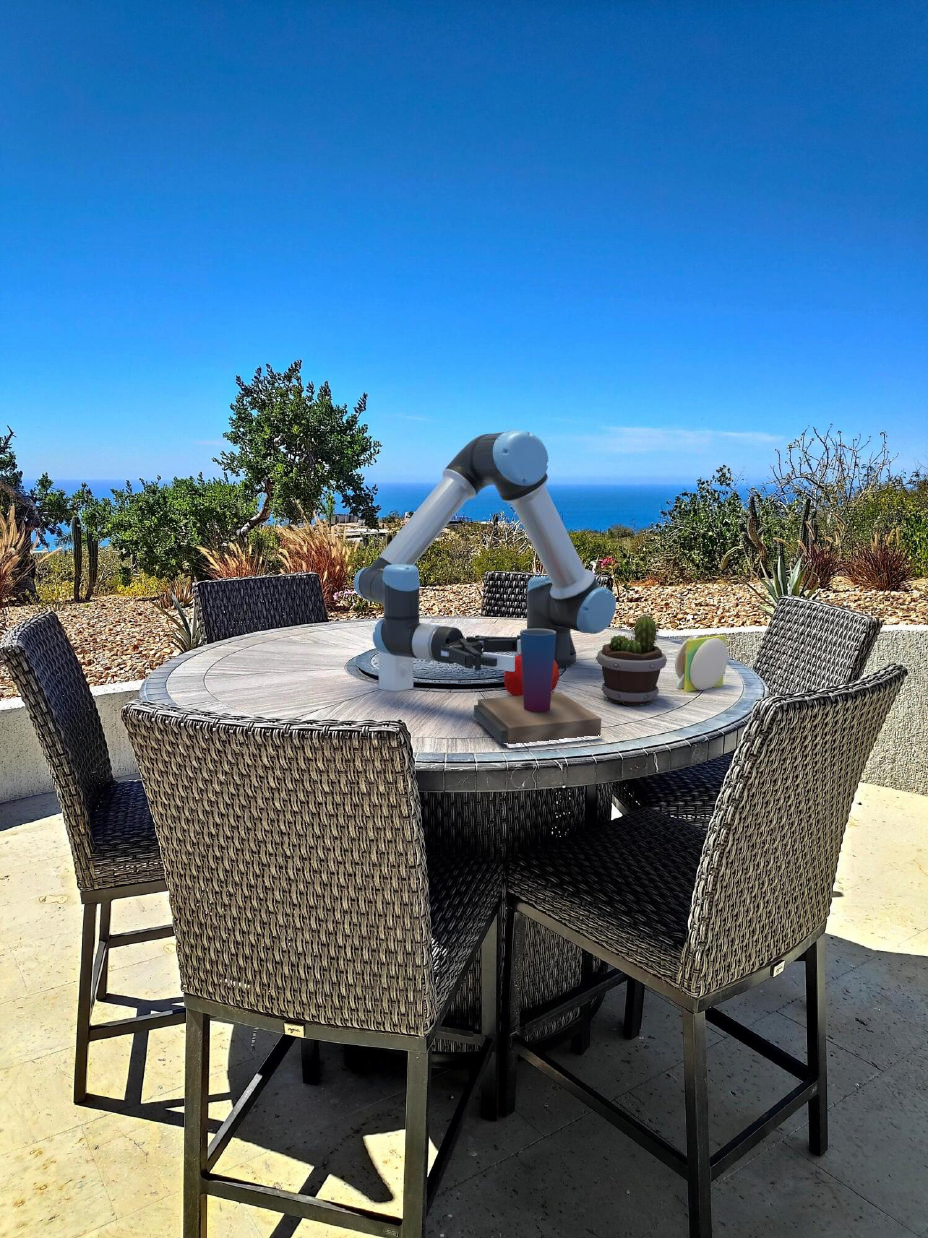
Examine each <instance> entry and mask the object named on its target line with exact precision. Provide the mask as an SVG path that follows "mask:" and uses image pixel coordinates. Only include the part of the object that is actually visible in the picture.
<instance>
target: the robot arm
mask: <svg viewBox="0 0 928 1238" xmlns="http://www.w3.org/2000/svg"><path fill="white" fill-rule="evenodd" d="M548 462H549V454H548V451H547V448H546V446H545V444H544V443H543V441H542V440H541V439H540V438H539V436H537V435H536V434H534V433H532V432H529V431H526V430H516V429H513V430H506V431H502V432H494V433H484V434H481V435H479V436H476V437H475V438H473V439H472V440H470V441H469V442H468V443H467V444H465V446H464V447H463V448H462V449H461V450H460V451H459V452H458V453H457V454H456V455H455V456H454V458H453V459H452V460H451V461H450V462H449V464H447V466H446V467H445V468H444V469H443V471H442V479H441V480H440V481H439V482H438V484H436V486H435V487H434V489H432V491H431V493H429V494H428V496H427V497H426V498H425V500H423V502H422V503H421V504H420V506H419V507H418V508H417V509H416V511H415V512H414V513H413V514H412V515H411V517H410V518H409V519H408V521H406V523H405V524H404V525H403V526H402V528H401V529H400V530H399V531H398V532H397V534H396V535H395V536H394V538H392V540H391V541H390V542H389V543H388V545H387V546H386V547H385V548H384V549H383V551H382V552H381V553H380V555H379V556H378V557H377V558H376V559H375V560H374V562H373V563H372V564H371V565H370V566H365V567H363V568H361V569H360V570H358V571H357V572H356V574H355V575H354V579H353V587H354V591H355V592H356V594H357V595H358V596H359V597H361V598H363V599H364V600H366V601H368V602H373V603H377V604H379V605H383V619H380V620H379V621H378V622H377V623H376V624H375V626H374V631H373V632H372V642H373V646H374V647H375V648H376V649H377V651H378V650H379V651H380V652H383V653H387V654H391V655H394V656H403V657H410V658H413V659H419V660H425V662H426V663H431V662H437V663H442V664H448V665H453V664H456V665H458V666H462V667H464V668H466V669H469V670H471V669H473V668H474V671H475V672H481V671H482V668H488V669H492V670H500V671H504V672H505V671H512V672H513V671H515V656H516V655H515V656H513V655H508V654H501V653H509V652H510V653H512V652H516V653H517V654H518V655H520V654H521V642H520V634H519V635H518V634H517V635H516V636H489V635H487V636H486V635H479V634H477V635H473V636H472V635H471V636H470V635H469V636H466V638H465V636H464V635H463V632H462V631H461V630H460V629H459V628H458V627H453V626H446V625H445V626H444V625H443V626H442V625H439V624H431V623H423V622H422V623H421V622H420V586H421V582H420V581H421V580H420V574H419V569H418V567H417V566H416V565H415V564H416V563H417V562H418V561H419V559H420V558H421V557H422V556H423V555H424V553H425V552H426V551H427V550H428V549H429V547H430V546H431V544H432V543H434V541H435V540H436V538H438V536H439V535H440V534H441V532H442V531H443V530H444V529H445V527H446V526H447V525H448V524H449V523H450V521H451V520H452V519H453V518H454V517H455V515H456V514H457V513H458V511H459V510H460V509H461V508H462V507H463V505H464V504H465V503H466V501H467V500H469V499H470V500H471V499H474V498H475V497H476V496H477V495H478V494H479V493H480V491H482V490H483V489H484V488H487V487H489V486H494V488H495V489H496V491H497V492H498V494H499V496H500V498H501V500H502V501H503V502H505V503H509V504H511V506H512V508H513V509H514V512H515V513H516V515H517V517H518V519H519V521H520V523H521V525H522V526H523V529H524V531H525V533H526V535H527V537H528V539H529V541H530V543H531V545H532V547H533V549H534V551H535V553H536V555H537V557H538V558H539V561H540V563H541V565H542V566H543V568H544V570H545V572H546V574H547V576H535V577H531V578H530V579H529V580H528V583H527V590H526V629H550V630H554V631H556V641H555V654H554V660H555V661H556V663H557V665H558V668H563V667H565V668H566V667H569V666H573V665H575V664H577V657H578V656H577V650H576V647H575V644H574V640H573V638H572V634H571V632H572V631H571V630H573V631H575V632H579V633H582V634H592V635H595V634H599V633H601V632H603V631H604V630H606V629H607V628H608V627H609V626H610V624H611V623H612V621H613V619H614V617H615V614H616V610H617V609H616V608H617V602H616V597H615V595H614V593H613V591H612V590H610V589H609V588H607V587H605V586H601V585H600V583H599V582H598V579H597V577H596V576H595V573H594V572H593V571H592V570H590V569H585V566H584V565H583V562H582V560H581V559H580V556H579V554H578V551H577V550H576V548H575V546H574V544H573V541H572V540H571V538H570V537H571V536H570V535H569V534H568V533H569V532H567V529H566V527H565V525H564V523H563V521H562V519H561V517H560V514H559V513H558V510H557V508H556V506H555V504H554V502H553V499H552V497H551V495H550V493H549V491H548V489H547V488H546V485H547V482H548V480H549V476H548V473H547V471H548V467H549V466H548ZM499 653H500V654H499Z"/></svg>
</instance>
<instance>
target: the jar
mask: <svg viewBox="0 0 928 1238" xmlns="http://www.w3.org/2000/svg"><path fill="white" fill-rule="evenodd" d="M377 651H378V652H377V657H378V689H379V690H380V691H381V690H383V691H390V692H402V691H409V690H412V689H413V688H414V658H410V657H403V656H394V655H391V654H387V653H383V652H380V651H379V650H378V649H377Z"/></svg>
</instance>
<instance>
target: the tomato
mask: <svg viewBox="0 0 928 1238" xmlns="http://www.w3.org/2000/svg"><path fill="white" fill-rule="evenodd" d="M559 679H560V670H559V667H558V665H557V663H556V661H555V660H554V666H553V678H552V690H551V693H553V692H554V690H555V689H556V688H557V685H558V683H559ZM503 683H504V687H505V689H506V691H507V693H508V694H509V695H511V697H512V696H523V682H522V662H521V654H519V653H517V655H515V671H513V672H512V671H505V670H504V676H503Z"/></svg>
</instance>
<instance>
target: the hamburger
mask: <svg viewBox="0 0 928 1238" xmlns="http://www.w3.org/2000/svg"><path fill="white" fill-rule="evenodd" d="M726 643H727V635H726V634H721V635H714V636H705V635H704V636H703V635H700V634H699V635H693V636H690V637H689V638H687V639H685V641H683V643H682V644H681V645H680V646H679V647H678V650H677V652H676V655H675V659H674V671H675V674H676V676H677V678H678V679H677V682H676V686H675V687H676V689H679V690H682V689H683V692H684V693H689V692H693V691H699V690H700V691H706V690H709V689H711V688H715V687H720V686H723V685H724V675H725V674H726V669H727V666H728V661H729V652H728V647H727V645H726Z"/></svg>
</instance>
